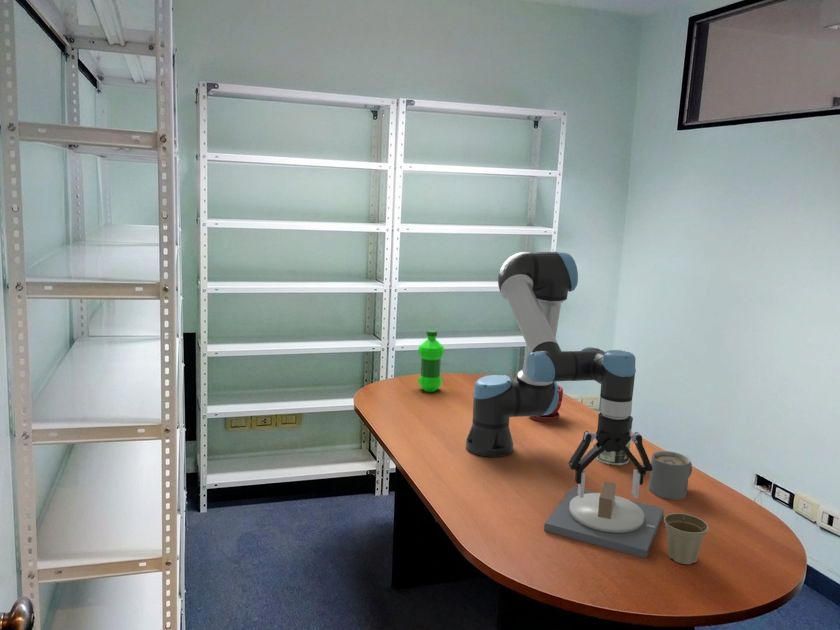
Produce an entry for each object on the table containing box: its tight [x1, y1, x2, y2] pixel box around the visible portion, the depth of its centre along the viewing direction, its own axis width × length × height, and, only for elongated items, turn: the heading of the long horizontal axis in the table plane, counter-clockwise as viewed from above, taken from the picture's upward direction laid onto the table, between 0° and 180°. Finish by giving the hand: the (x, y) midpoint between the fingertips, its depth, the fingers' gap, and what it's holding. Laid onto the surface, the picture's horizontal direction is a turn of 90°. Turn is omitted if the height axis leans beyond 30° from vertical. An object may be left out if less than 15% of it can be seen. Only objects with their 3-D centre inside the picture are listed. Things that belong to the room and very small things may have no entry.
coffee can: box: [595, 411, 634, 466], centre depth 204 cm, size 10×10×14 cm
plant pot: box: [529, 385, 564, 423], centre depth 241 cm, size 13×13×12 cm
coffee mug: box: [648, 450, 693, 500], centre depth 183 cm, size 13×10×10 cm
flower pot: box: [663, 512, 709, 565], centre depth 149 cm, size 9×9×9 cm
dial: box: [569, 481, 644, 533], centre depth 163 cm, size 18×18×6 cm
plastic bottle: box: [417, 329, 445, 393], centre depth 270 cm, size 10×10×25 cm
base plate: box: [543, 486, 665, 560], centre depth 164 cm, size 24×24×2 cm
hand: (607, 496), depth 163 cm, fingers open, 13 cm apart
